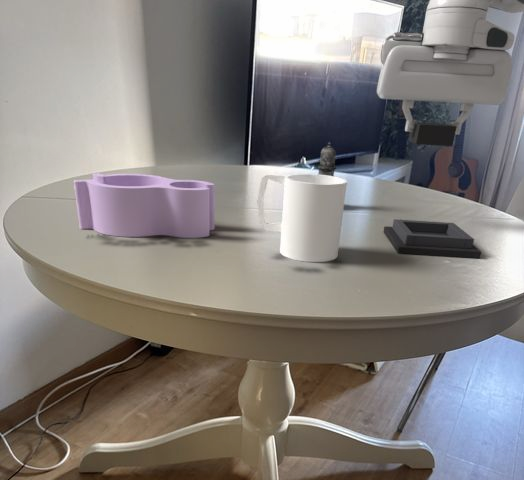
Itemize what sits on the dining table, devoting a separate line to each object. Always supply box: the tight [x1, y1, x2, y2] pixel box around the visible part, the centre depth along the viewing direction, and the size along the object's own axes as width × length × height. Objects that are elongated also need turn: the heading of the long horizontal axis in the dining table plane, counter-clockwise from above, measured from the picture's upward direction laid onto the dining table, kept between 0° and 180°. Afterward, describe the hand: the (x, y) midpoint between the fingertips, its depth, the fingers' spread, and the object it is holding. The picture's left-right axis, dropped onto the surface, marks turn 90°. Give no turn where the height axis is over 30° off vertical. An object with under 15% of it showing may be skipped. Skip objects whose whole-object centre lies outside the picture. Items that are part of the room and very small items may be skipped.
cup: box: [256, 173, 348, 263], centre depth 66 cm, size 8×12×10 cm
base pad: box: [383, 219, 483, 259], centre depth 74 cm, size 12×12×2 cm
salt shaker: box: [317, 141, 337, 177], centre depth 93 cm, size 6×6×12 cm
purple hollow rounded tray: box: [73, 173, 216, 239], centre depth 74 cm, size 20×12×7 cm, turn 83°
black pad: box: [408, 121, 457, 147], centre depth 81 cm, size 6×6×3 cm
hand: (432, 132), depth 80 cm, fingers closed on black pad, 6 cm apart
